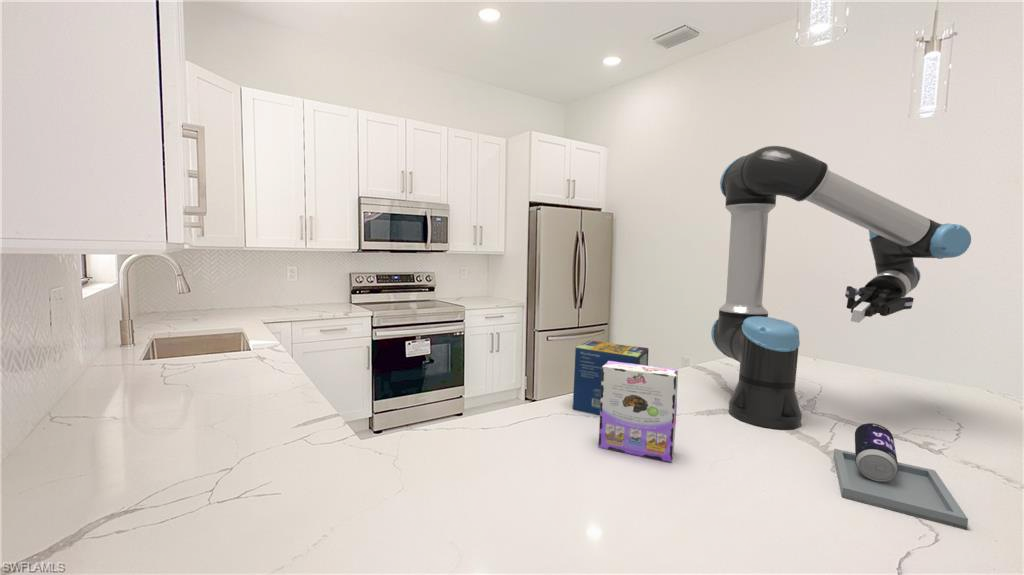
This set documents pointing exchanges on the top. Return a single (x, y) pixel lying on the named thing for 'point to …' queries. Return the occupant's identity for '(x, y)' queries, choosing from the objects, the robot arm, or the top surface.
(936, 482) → the tray
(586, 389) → the protein box
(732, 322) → the robot arm
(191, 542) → the top surface
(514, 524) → the top surface
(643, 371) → the candy box
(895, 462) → the beverage can
